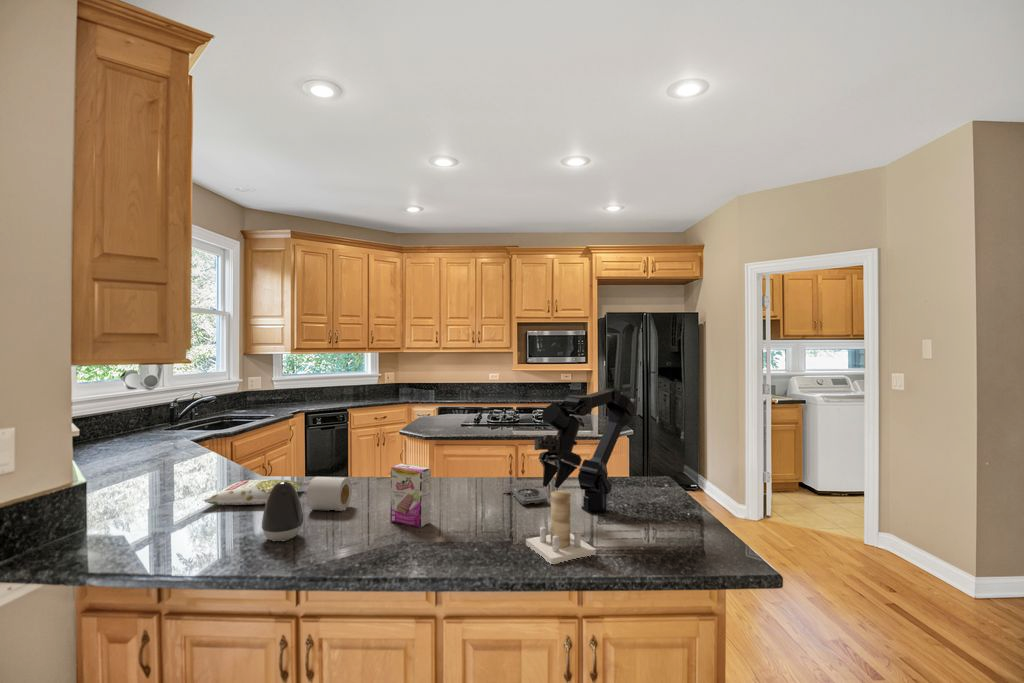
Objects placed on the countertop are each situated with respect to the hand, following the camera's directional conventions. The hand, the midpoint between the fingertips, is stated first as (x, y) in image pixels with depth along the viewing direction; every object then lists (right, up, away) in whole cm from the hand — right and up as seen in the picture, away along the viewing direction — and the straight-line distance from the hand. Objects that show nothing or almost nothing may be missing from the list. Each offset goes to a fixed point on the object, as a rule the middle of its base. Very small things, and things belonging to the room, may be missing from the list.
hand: (550, 486), depth 143 cm
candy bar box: (-41, -12, +3) cm, 43 cm away
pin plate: (+1, -12, -15) cm, 19 cm away
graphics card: (-7, -12, +26) cm, 30 cm away
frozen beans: (-96, -11, +23) cm, 100 cm away
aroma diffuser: (-73, -11, -9) cm, 74 cm away
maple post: (+1, -10, -15) cm, 18 cm away
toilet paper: (-69, -12, +14) cm, 71 cm away
